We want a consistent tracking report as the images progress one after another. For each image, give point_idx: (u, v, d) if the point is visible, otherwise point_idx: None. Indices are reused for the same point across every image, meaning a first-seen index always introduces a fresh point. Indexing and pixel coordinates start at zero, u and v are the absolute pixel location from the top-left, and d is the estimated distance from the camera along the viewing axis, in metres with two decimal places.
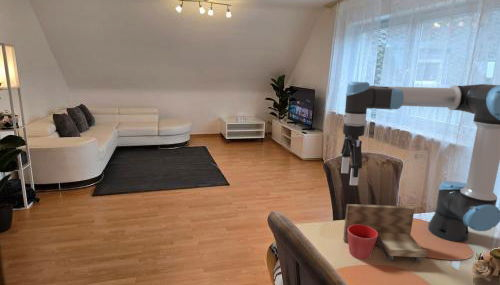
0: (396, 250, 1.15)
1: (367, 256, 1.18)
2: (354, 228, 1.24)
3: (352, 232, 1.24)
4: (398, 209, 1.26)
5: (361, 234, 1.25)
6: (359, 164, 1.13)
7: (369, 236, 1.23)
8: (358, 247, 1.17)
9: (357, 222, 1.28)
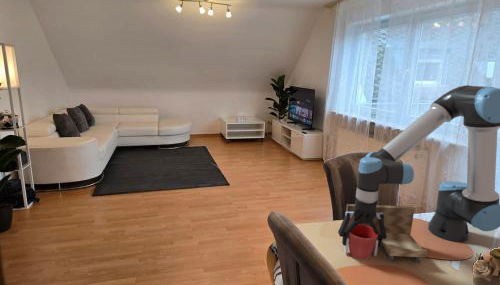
0: (396, 250, 1.15)
1: (367, 256, 1.18)
2: (354, 228, 1.24)
3: (352, 232, 1.24)
4: (398, 209, 1.26)
5: (361, 234, 1.25)
6: (345, 234, 1.19)
7: (369, 236, 1.23)
8: (358, 247, 1.17)
9: None
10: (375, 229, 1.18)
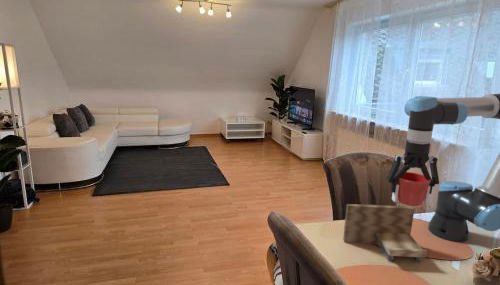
0: (396, 250, 1.15)
1: (419, 203, 1.11)
2: None
3: None
4: (398, 209, 1.26)
5: None
6: (395, 180, 1.12)
7: None
8: (410, 192, 1.10)
9: (357, 222, 1.28)
10: (427, 174, 1.11)
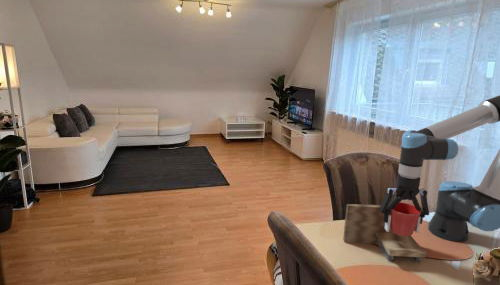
0: (396, 250, 1.15)
1: (410, 233, 1.17)
2: None
3: (393, 210, 1.23)
4: None
5: (401, 211, 1.24)
6: (387, 211, 1.18)
7: (410, 213, 1.22)
8: (401, 223, 1.16)
9: (357, 222, 1.28)
10: (418, 206, 1.17)
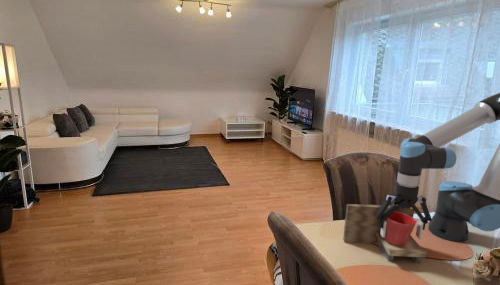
0: (396, 250, 1.15)
1: (403, 242, 1.18)
2: (390, 215, 1.25)
3: None
4: (398, 209, 1.26)
5: (396, 221, 1.25)
6: (383, 217, 1.19)
7: (405, 223, 1.23)
8: (396, 233, 1.17)
9: (357, 222, 1.28)
10: (419, 213, 1.18)
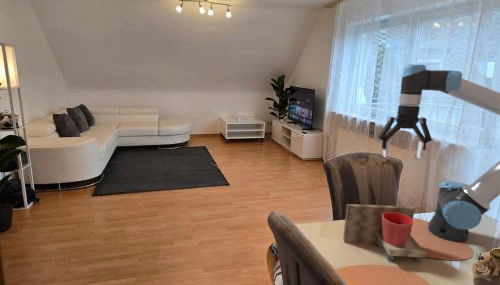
0: (396, 250, 1.15)
1: (402, 243, 1.18)
2: (388, 215, 1.25)
3: (386, 219, 1.24)
4: (398, 209, 1.26)
5: (394, 221, 1.25)
6: (386, 137, 1.26)
7: (403, 223, 1.23)
8: (394, 234, 1.17)
9: (357, 222, 1.28)
10: (419, 133, 1.25)
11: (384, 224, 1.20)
